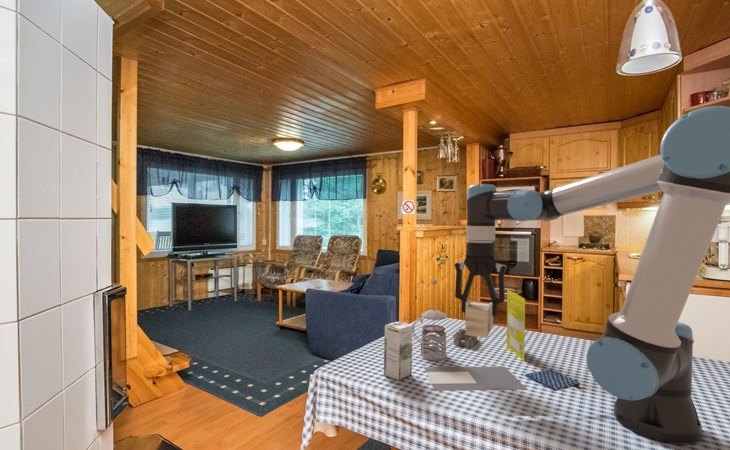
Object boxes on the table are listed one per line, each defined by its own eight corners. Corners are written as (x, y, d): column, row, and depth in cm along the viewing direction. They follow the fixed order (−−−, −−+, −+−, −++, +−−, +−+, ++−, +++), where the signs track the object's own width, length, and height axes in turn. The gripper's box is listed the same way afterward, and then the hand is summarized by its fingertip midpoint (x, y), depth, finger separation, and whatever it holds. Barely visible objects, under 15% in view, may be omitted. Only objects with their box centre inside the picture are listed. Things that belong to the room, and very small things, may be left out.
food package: (526, 364, 117) (526, 299, 117) (522, 364, 117) (523, 299, 117) (508, 347, 132) (509, 289, 132) (505, 346, 133) (505, 289, 132)
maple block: (487, 337, 100) (487, 311, 99) (465, 334, 102) (466, 308, 102) (491, 327, 109) (492, 303, 108) (471, 325, 111) (472, 301, 111)
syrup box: (396, 369, 113) (396, 320, 112) (412, 375, 108) (412, 324, 108) (383, 375, 109) (383, 324, 108) (399, 381, 104) (399, 328, 104)
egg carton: (471, 349, 131) (471, 337, 131) (450, 345, 135) (450, 334, 135) (480, 340, 140) (480, 329, 140) (460, 337, 144) (460, 326, 144)
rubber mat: (527, 392, 98) (527, 389, 98) (434, 393, 97) (434, 390, 97) (504, 369, 113) (504, 366, 113) (423, 369, 112) (423, 366, 112)
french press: (447, 365, 115) (448, 283, 115) (409, 361, 119) (410, 281, 119) (451, 354, 125) (451, 278, 124) (415, 350, 128) (416, 276, 128)
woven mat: (521, 380, 107) (521, 373, 107) (549, 374, 111) (549, 367, 111) (553, 396, 97) (553, 388, 97) (582, 389, 101) (582, 381, 101)
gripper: (517, 241, 104) (516, 326, 105) (449, 239, 112) (448, 318, 113) (516, 243, 97) (514, 334, 98) (443, 241, 105) (442, 324, 106)
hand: (479, 325), depth 105 cm, fingers closed on maple block, 5 cm apart
